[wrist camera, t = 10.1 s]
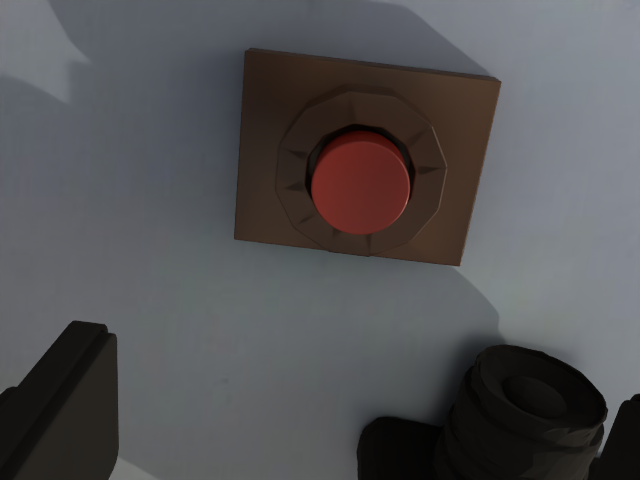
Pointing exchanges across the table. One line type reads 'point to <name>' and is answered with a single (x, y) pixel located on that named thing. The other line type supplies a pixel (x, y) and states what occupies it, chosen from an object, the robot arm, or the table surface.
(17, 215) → the table surface
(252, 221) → the button block
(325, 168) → the button
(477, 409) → the film camera
